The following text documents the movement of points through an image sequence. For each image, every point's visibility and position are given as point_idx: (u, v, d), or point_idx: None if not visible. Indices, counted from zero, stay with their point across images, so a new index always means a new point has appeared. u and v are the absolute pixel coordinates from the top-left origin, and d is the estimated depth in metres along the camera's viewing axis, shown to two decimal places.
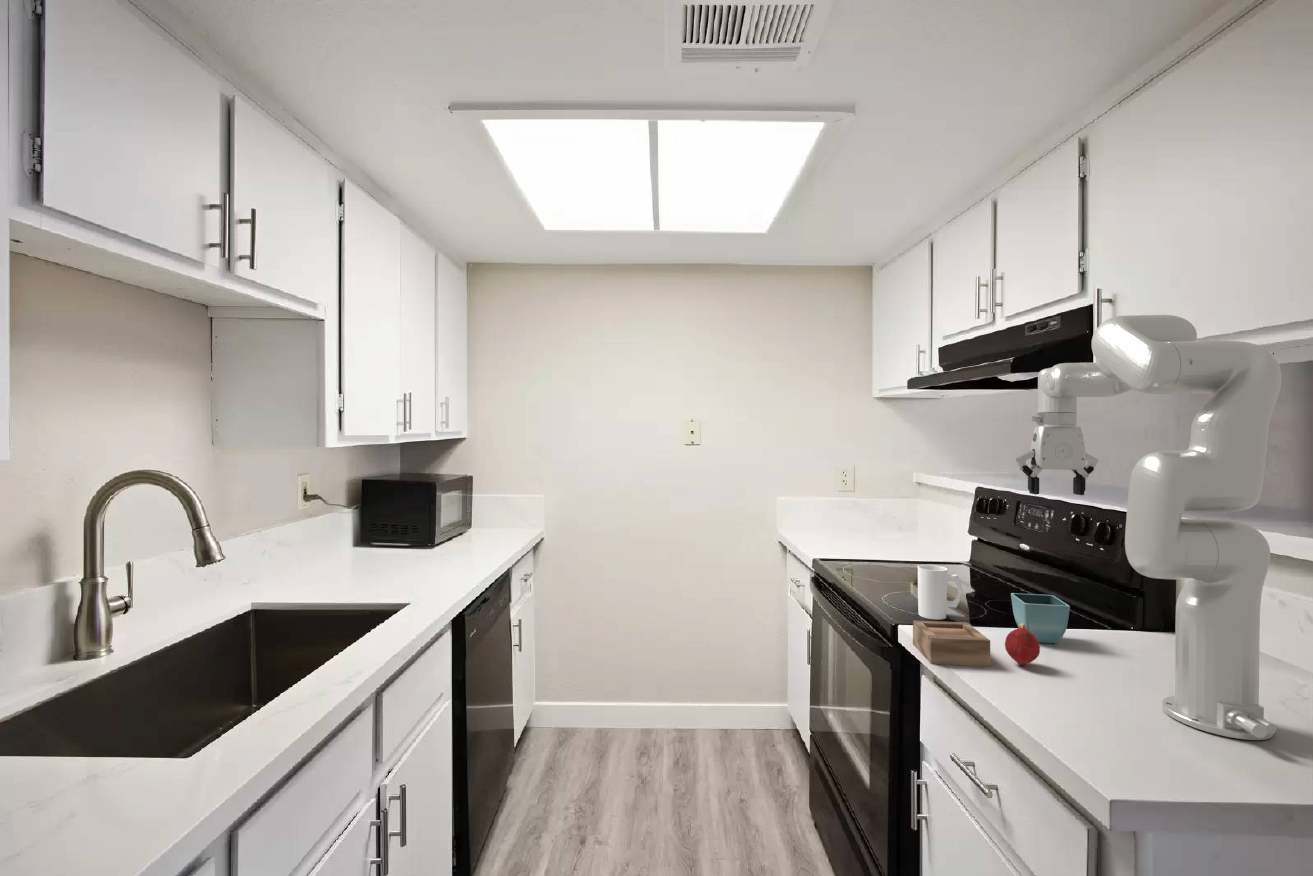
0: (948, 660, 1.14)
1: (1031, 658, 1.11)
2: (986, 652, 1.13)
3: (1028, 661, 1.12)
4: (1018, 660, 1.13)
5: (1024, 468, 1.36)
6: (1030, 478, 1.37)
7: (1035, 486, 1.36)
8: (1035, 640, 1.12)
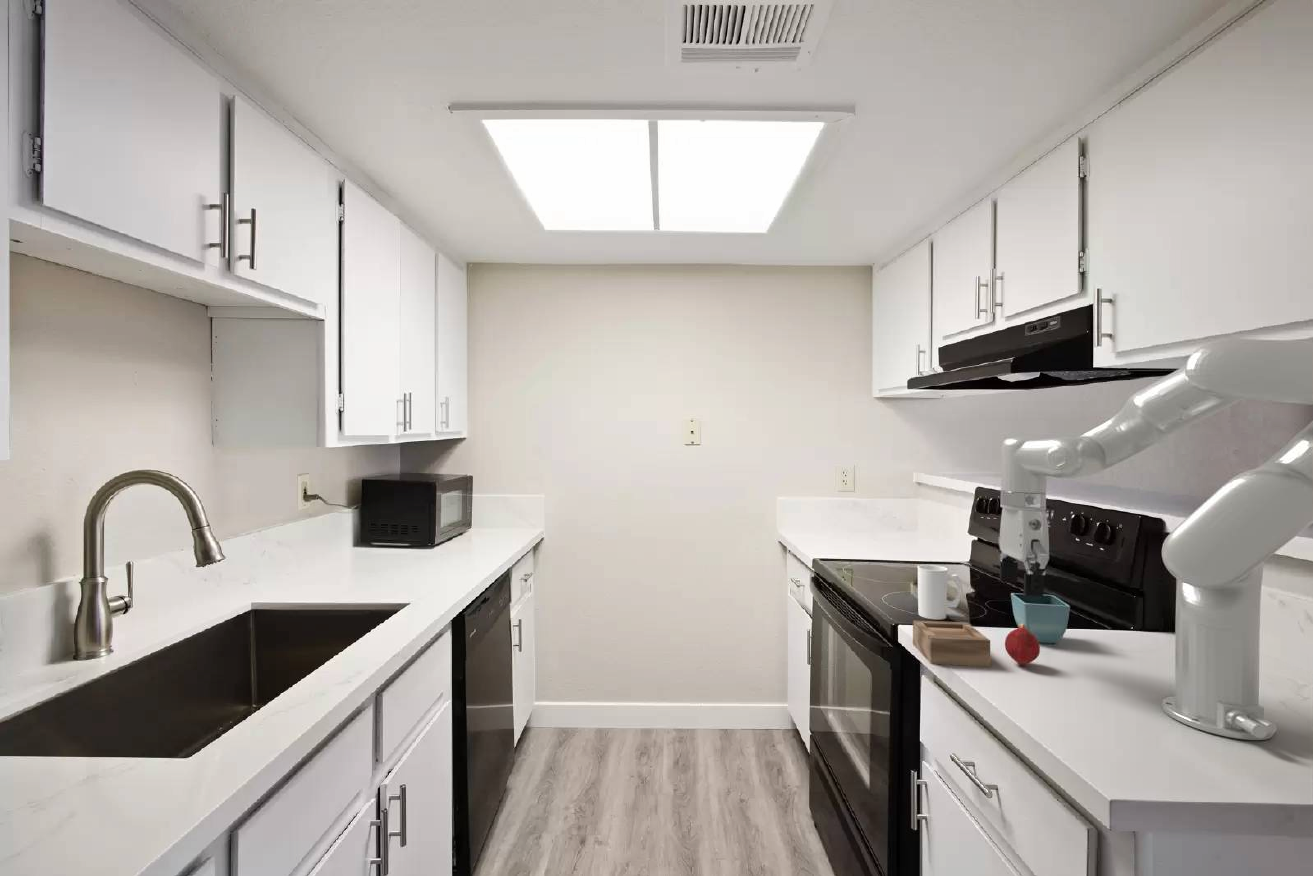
0: (948, 660, 1.14)
1: (1031, 658, 1.11)
2: (986, 652, 1.13)
3: (1028, 661, 1.12)
4: (1018, 660, 1.13)
5: (1046, 566, 1.07)
6: (1038, 577, 1.08)
7: (1041, 586, 1.09)
8: (1035, 640, 1.12)
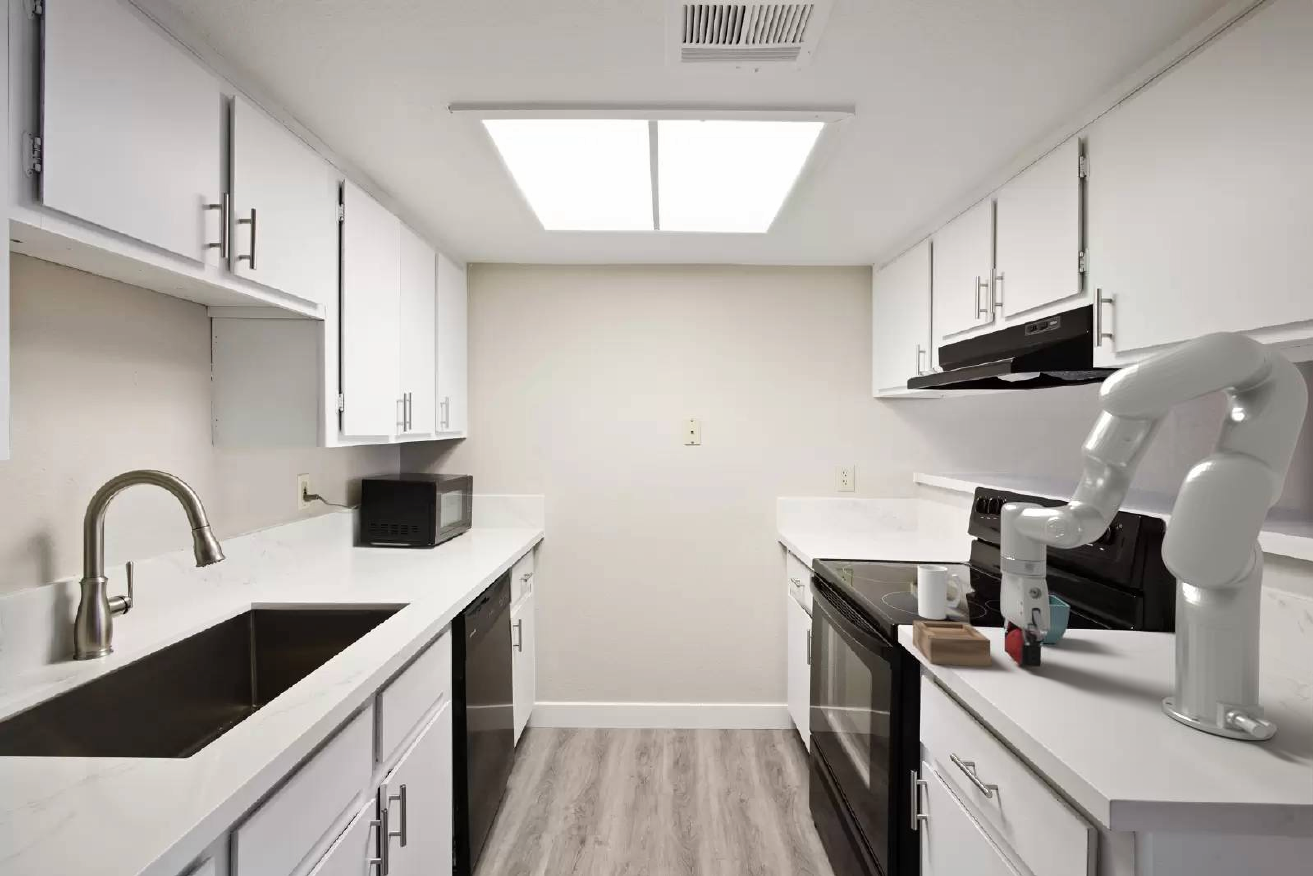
0: (948, 660, 1.14)
1: None
2: (986, 652, 1.13)
3: None
4: (1018, 660, 1.13)
5: None
6: (1035, 648, 1.10)
7: (1038, 656, 1.10)
8: None
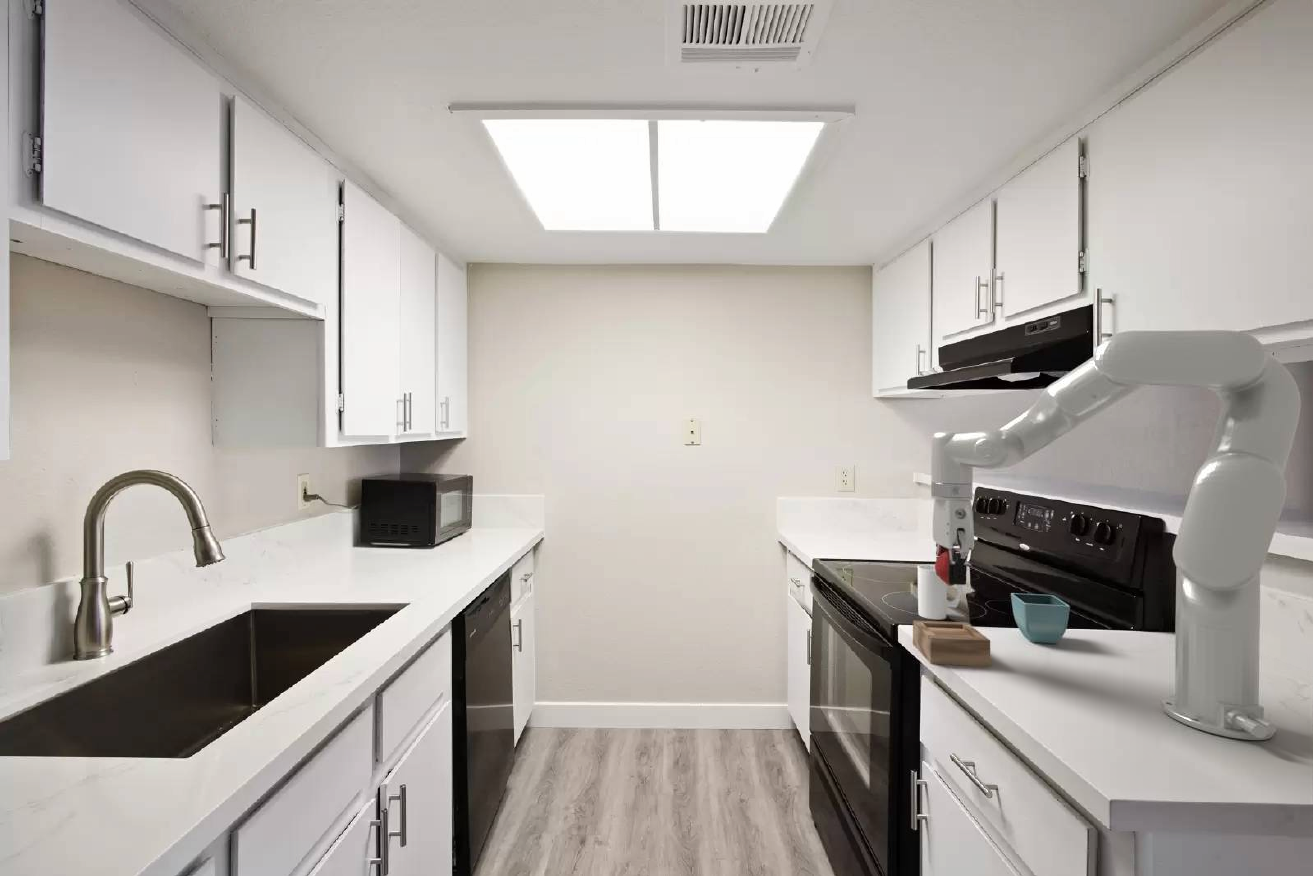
0: (948, 660, 1.14)
1: None
2: (986, 652, 1.13)
3: None
4: (946, 580, 1.18)
5: (967, 556, 1.13)
6: (960, 567, 1.15)
7: (964, 575, 1.15)
8: None
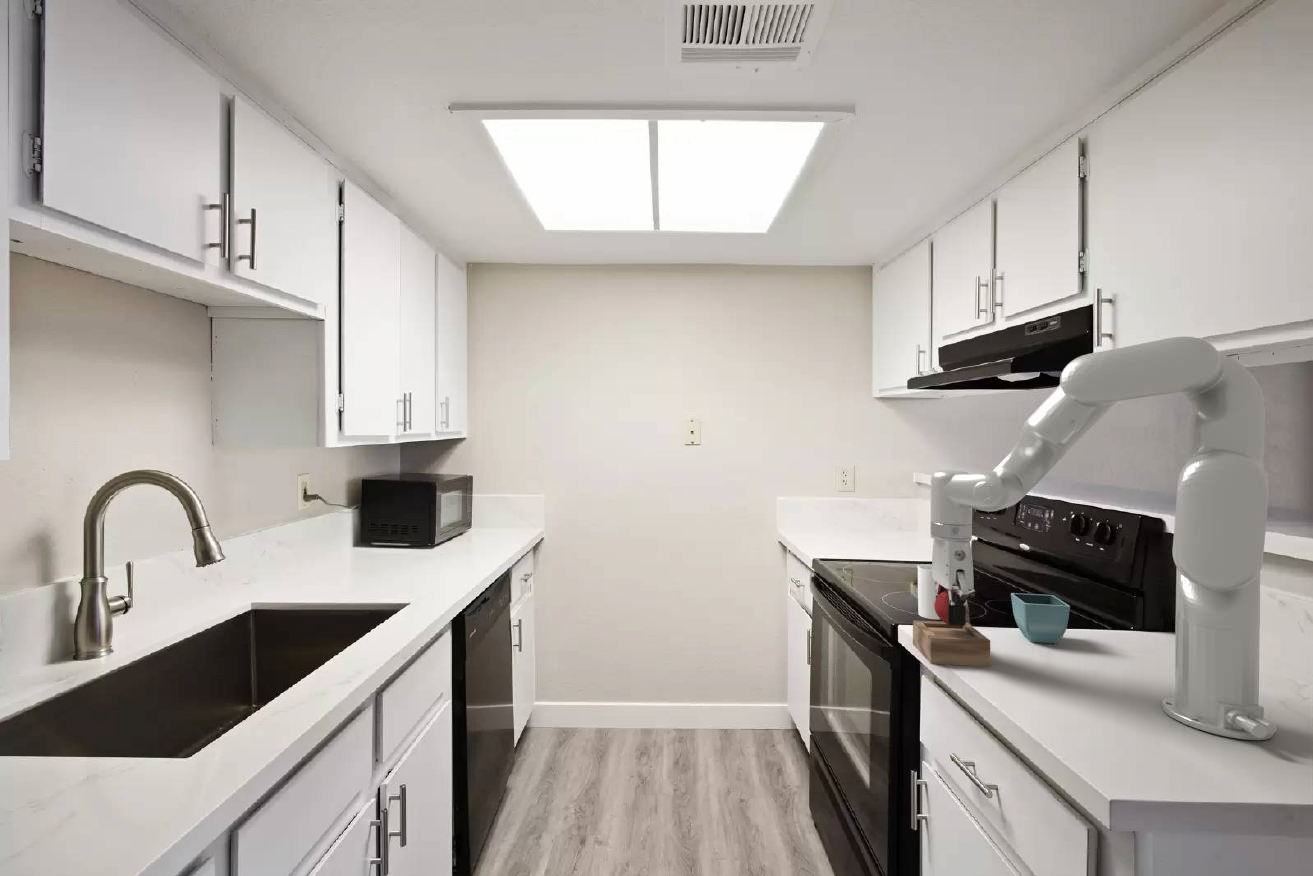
0: (948, 660, 1.14)
1: None
2: (986, 652, 1.13)
3: None
4: (945, 620, 1.18)
5: None
6: (960, 608, 1.15)
7: (963, 616, 1.16)
8: None
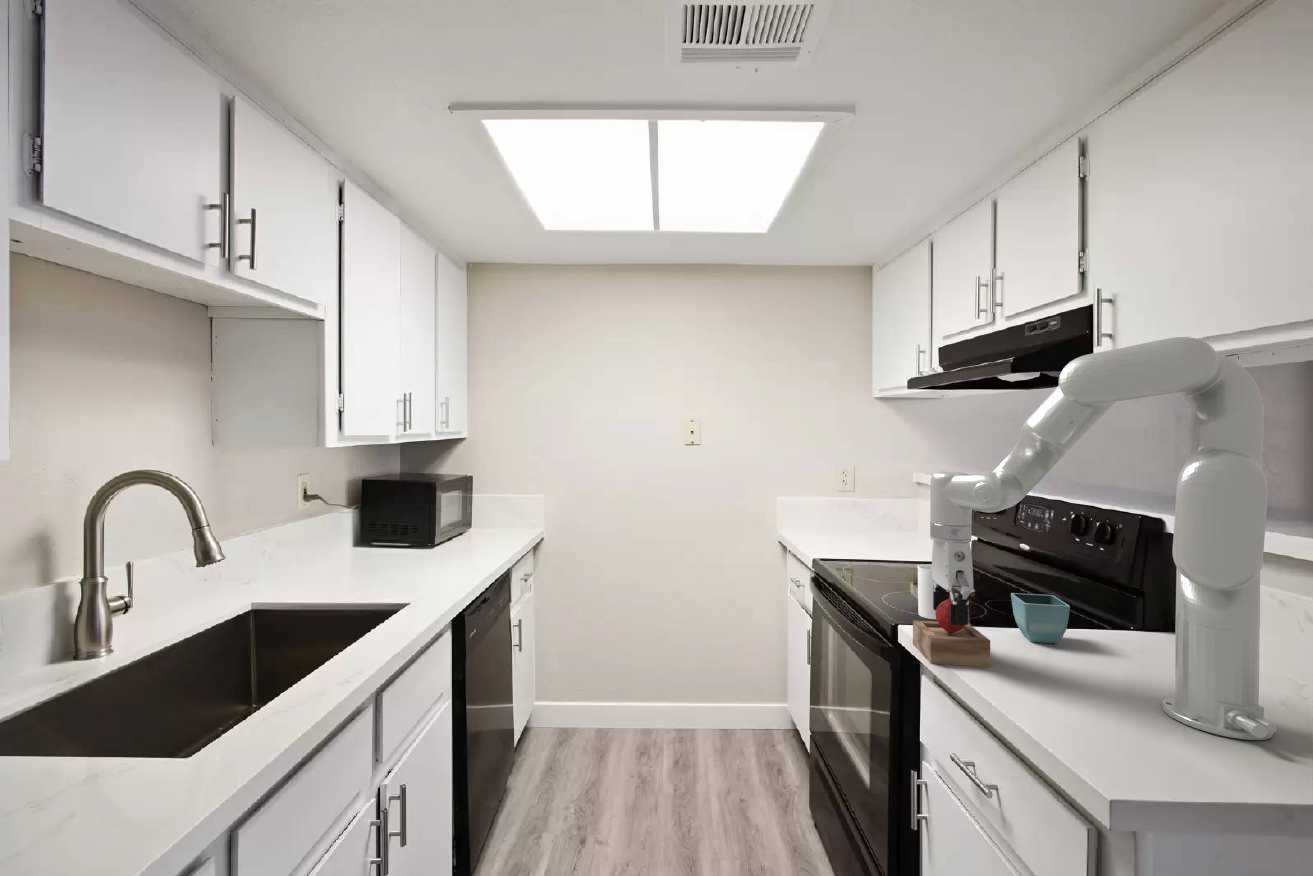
0: (948, 660, 1.14)
1: (958, 628, 1.17)
2: (986, 652, 1.13)
3: (955, 630, 1.17)
4: (946, 629, 1.18)
5: (968, 597, 1.12)
6: (962, 607, 1.14)
7: (965, 615, 1.14)
8: None
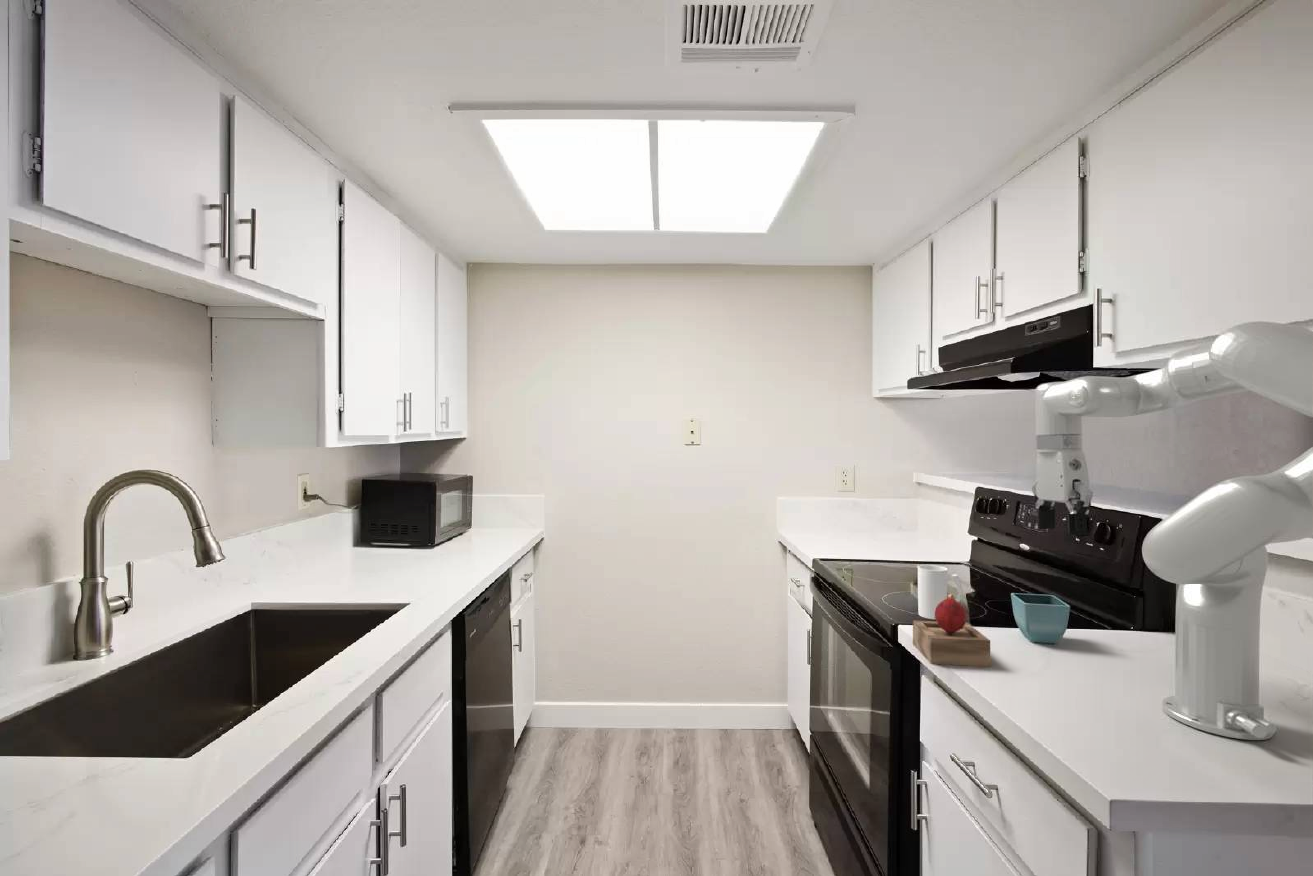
0: (948, 660, 1.14)
1: (957, 627, 1.17)
2: (986, 652, 1.13)
3: (955, 629, 1.17)
4: (946, 629, 1.18)
5: None
6: (1081, 516, 1.09)
7: None
8: (961, 609, 1.17)
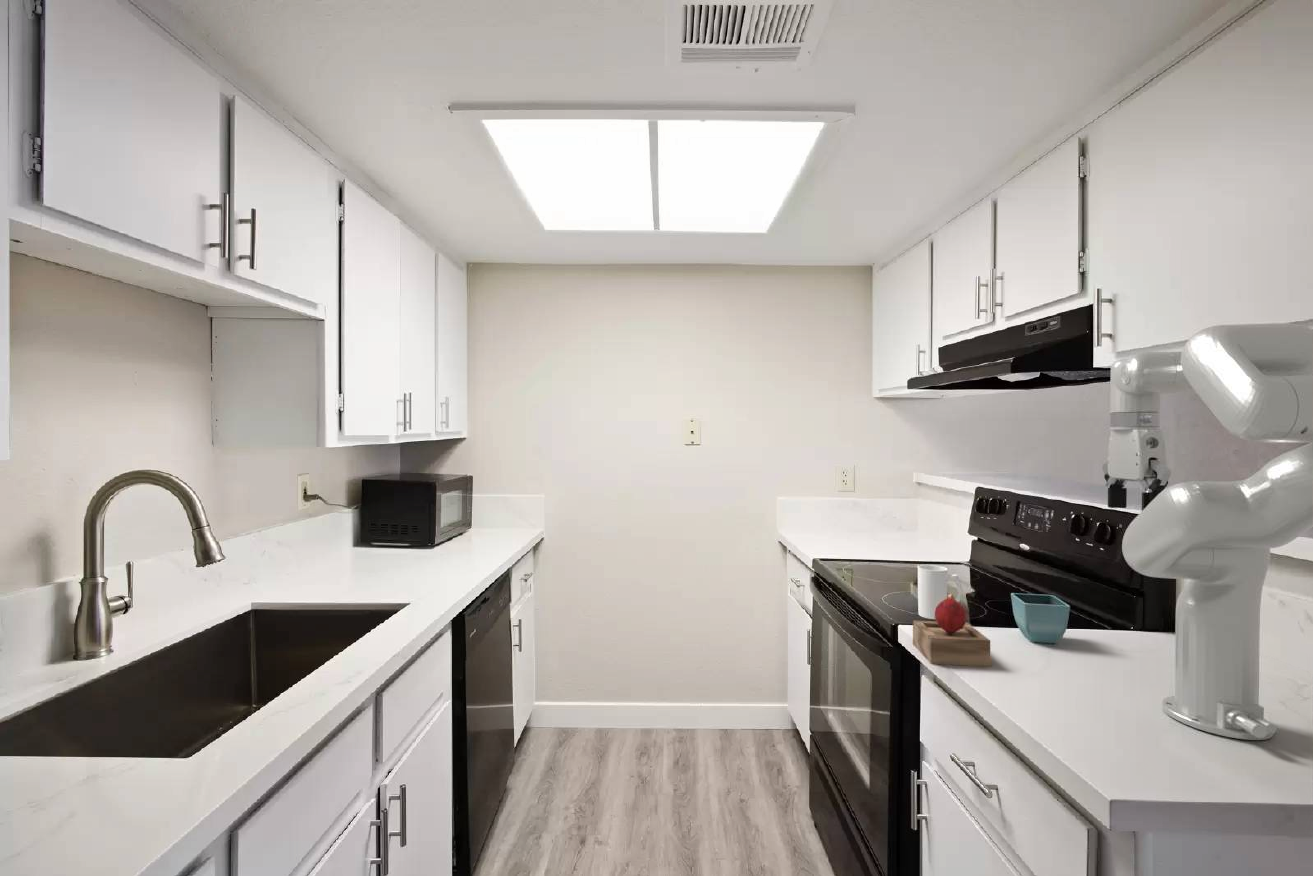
0: (948, 660, 1.14)
1: (957, 627, 1.17)
2: (986, 652, 1.13)
3: (955, 629, 1.17)
4: (946, 629, 1.18)
5: None
6: (1157, 495, 1.07)
7: None
8: (961, 609, 1.17)
